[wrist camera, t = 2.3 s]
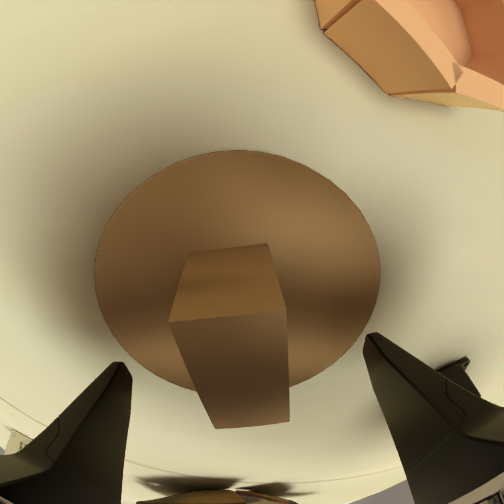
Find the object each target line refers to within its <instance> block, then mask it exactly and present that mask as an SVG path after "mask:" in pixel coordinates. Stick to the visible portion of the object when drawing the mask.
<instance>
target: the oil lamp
mask: <svg viewBox="0 0 504 504" xmlns="http://www.w3.org/2000/svg"><path fill="white" fill-rule="evenodd" d="M136 504H298V503H296V502H294V501H291V500H286V499H283V498H279V497H274V496H270V495H266V494H260V493H254V492H249V491H239V490H237V491H235V492H234V491H231V490H202V491H195V492H189V493H184V494H178V495H173V496H169V497H164V498H159V499H154V500H148V501H138V502H136Z"/></svg>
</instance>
